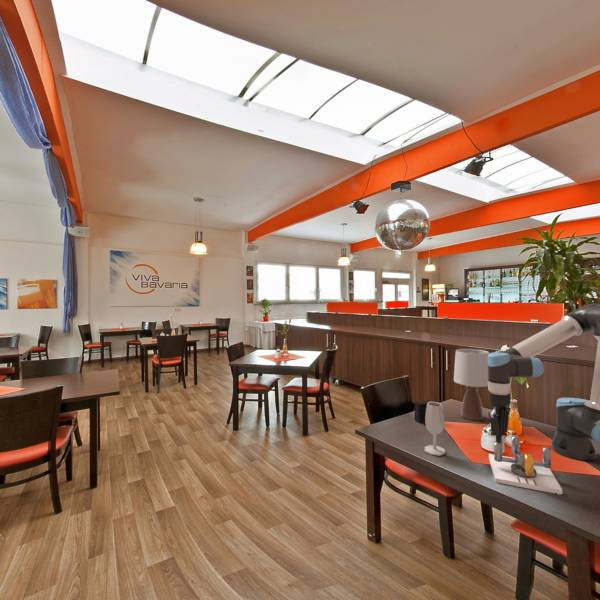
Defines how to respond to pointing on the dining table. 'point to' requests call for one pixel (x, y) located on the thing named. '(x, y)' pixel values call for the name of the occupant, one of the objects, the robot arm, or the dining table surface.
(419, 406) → the electronic device
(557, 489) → the stand plate
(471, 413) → the lamp
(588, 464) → the dining table surface
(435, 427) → the wineglass
